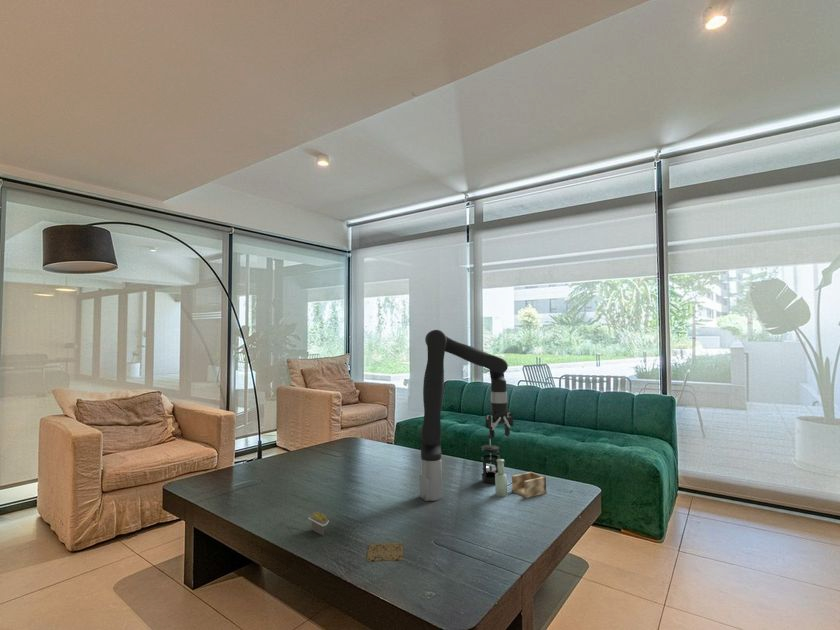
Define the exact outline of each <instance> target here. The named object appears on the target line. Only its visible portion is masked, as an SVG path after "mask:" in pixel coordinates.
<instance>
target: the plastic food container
mask: <svg viewBox="0 0 840 630" xmlns="http://www.w3.org/2000/svg"><path fill="white" fill-rule="evenodd" d="M312 514H313V515H310V516H308V520H310V521H311V530H312V531H314V532H315V533H318V534H319V535H321V536H323V537H324V536H325V526H327V525H328V523H329V522H330V520H329V519H328V518H327V517H326V515H324V514H322V513H320V512H318V511H315V512H313V513H312Z"/></svg>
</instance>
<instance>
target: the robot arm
mask: <svg viewBox="0 0 840 630" xmlns="http://www.w3.org/2000/svg"><path fill="white" fill-rule="evenodd" d="M425 344H426V347H427V361H426V367H425V371H424V375H423V386H422V395H423V409H424V411H423V412H424V414H423V415H424V416H423V422H422V426H421V428H420V466H421V467H420V471H421V474H420V475H419V497H420V498H421V499H422V500H424V501H426V502H428V501H429V502H430V501H433V502H434V501H435V502H436V501H440V500H441V499H442V498H443V479H442V478H443V475H442V474H443V471H442V469H443V468H442V466H443V465H442V464H443V462H442V445H441V444H442V441H441V438H442V427H441V426H442V425H441V423H442V422H441V413H442V407H443V406H442V405H443V399H444V390H445V389H444V385H445V368H444V367H445V366H444V363H445V361H444V359H445V353H449V354H451V355H453V356H455V357H458V358H460V359H462V360H464V361H467V362H469V363H471V364H473V365H476V366H479V367H483V368H486V369H488V370H489V376H490V382H491V383H490V391H491V392H490V411H491V415H489V414H486V415H485V429H487V430H489V434H490V437H491V439H495V429H496V427H497V426H498V425H501V424H502V425H504V436H505V437H510V434H511V427H513V426H514V417H513V415H514V414H513V413H512V412H508V411H509V409H508V406H509V405H508V392H507V389H508V387H507V380H506V378H505V372H507V370H508V368H509V366H508V362H507V361H506V359H504V358H501V357H498V356H496V355H493V354H490V353H488V352H485V351H484V350H482V349H479V348H476V347H474V346H471V345H468V344H465V343H461V342H459V341H456V340H454V339H452V338H451V337H448V336H447V335H446V333H444V332H443V331H442V330H439V329H433V330H430V331H429V332H428V333H427V334H426V335H425Z"/></svg>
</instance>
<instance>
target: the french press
mask: <svg viewBox="0 0 840 630" xmlns="http://www.w3.org/2000/svg"><path fill="white" fill-rule="evenodd" d="M485 436H486V437H487V438H488V439H489V444H484V445H482V446H481V447H480V448H481V451H482V452H483V451H487V452H488V453H489V454H483V455H482V456H481V461H482V468H481V469H482V473H481V482H482V484H485V485H487V486H488V485H489V486H495V473H498V463H497V459H501V455H498V453H500V452H499V449H500V446H498V445H494V444H491V439H492V438H491V437H490V433H489V434H485ZM487 458H489V459H487ZM492 458H493V459H492ZM487 463H490V464H489V465H487ZM492 463H494V465H492Z"/></svg>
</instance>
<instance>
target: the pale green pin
mask: <svg viewBox="0 0 840 630" xmlns="http://www.w3.org/2000/svg"><path fill="white" fill-rule="evenodd" d="M497 463H498V473H495V485H494V486H495V489H494V490H495V496H497V497H502V498H503V497H504V498H505V497H507V496H508V478H507V476H508V473H505V459H504V458H500V459H497Z"/></svg>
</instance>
